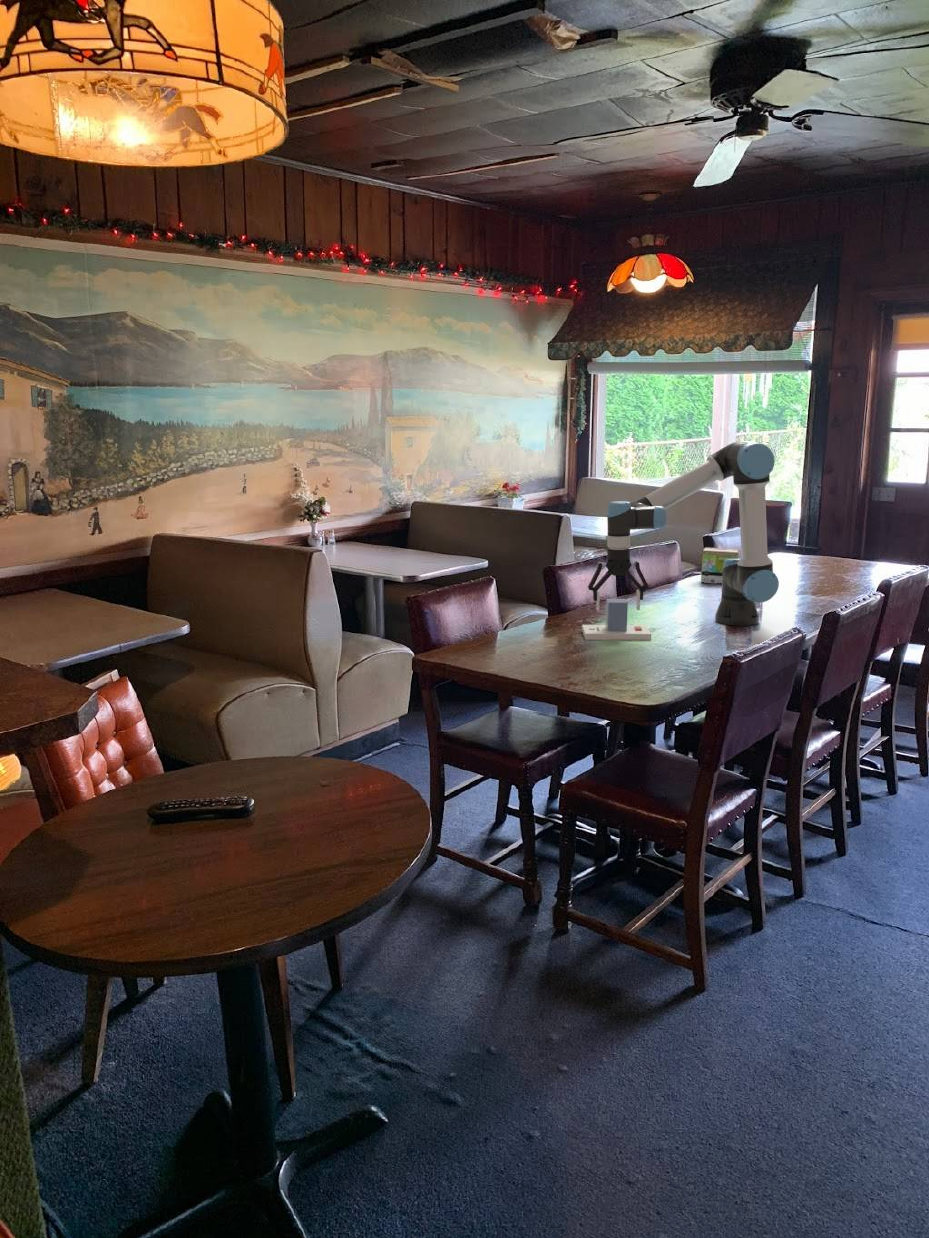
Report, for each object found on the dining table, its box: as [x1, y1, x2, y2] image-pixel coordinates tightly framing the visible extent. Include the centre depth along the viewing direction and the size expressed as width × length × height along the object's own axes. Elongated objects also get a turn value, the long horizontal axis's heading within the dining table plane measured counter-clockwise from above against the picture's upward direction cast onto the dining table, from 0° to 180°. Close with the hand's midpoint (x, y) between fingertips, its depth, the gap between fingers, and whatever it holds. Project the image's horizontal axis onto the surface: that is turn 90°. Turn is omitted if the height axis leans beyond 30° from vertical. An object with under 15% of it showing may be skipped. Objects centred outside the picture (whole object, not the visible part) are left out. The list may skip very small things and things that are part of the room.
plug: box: [605, 598, 629, 632], centre depth 318 cm, size 6×6×12 cm
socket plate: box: [581, 624, 652, 641], centre depth 319 cm, size 22×13×3 cm, turn 88°
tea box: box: [700, 547, 740, 584], centre depth 411 cm, size 15×10×15 cm, turn 72°
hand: (617, 609), depth 317 cm, fingers open, 13 cm apart
